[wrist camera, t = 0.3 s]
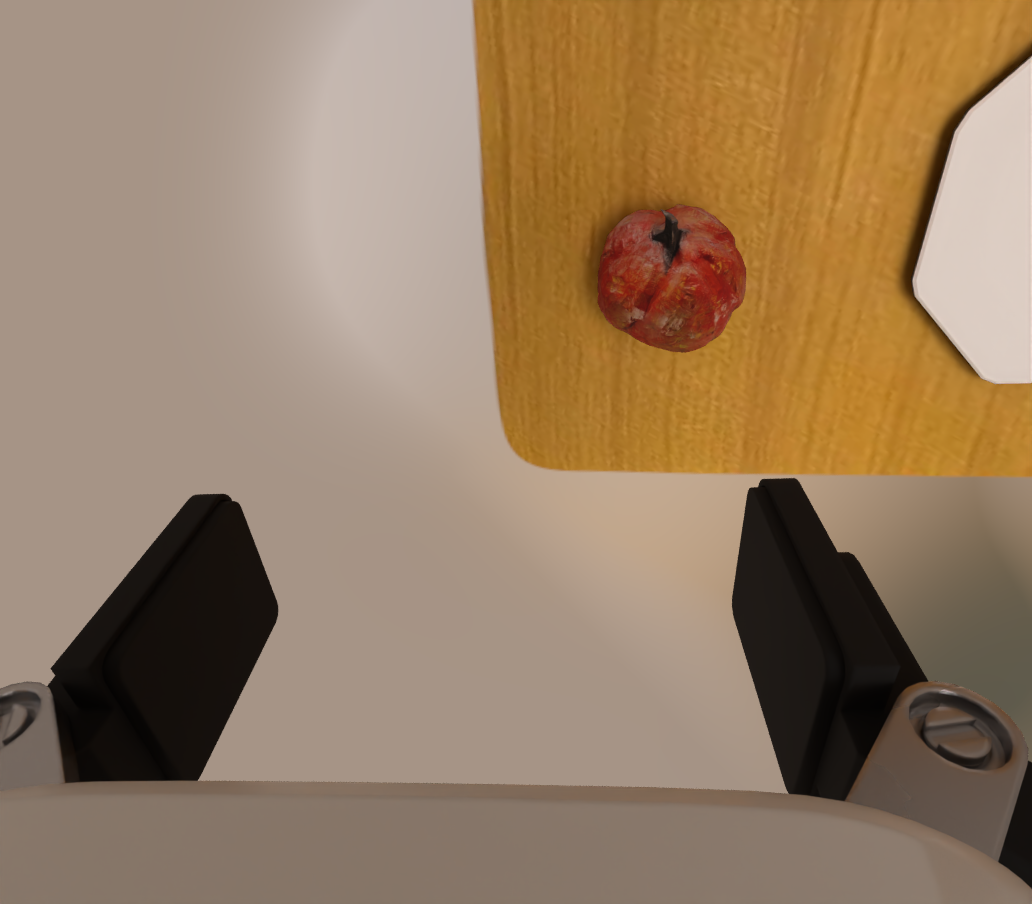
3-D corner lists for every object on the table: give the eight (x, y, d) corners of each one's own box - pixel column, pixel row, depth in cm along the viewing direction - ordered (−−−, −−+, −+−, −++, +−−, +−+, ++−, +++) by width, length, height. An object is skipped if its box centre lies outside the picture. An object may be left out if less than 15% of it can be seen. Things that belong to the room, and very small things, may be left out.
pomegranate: (723, 286, 38) (777, 159, 29) (715, 397, 36) (771, 296, 27) (599, 273, 39) (613, 145, 30) (584, 380, 37) (593, 277, 27)
